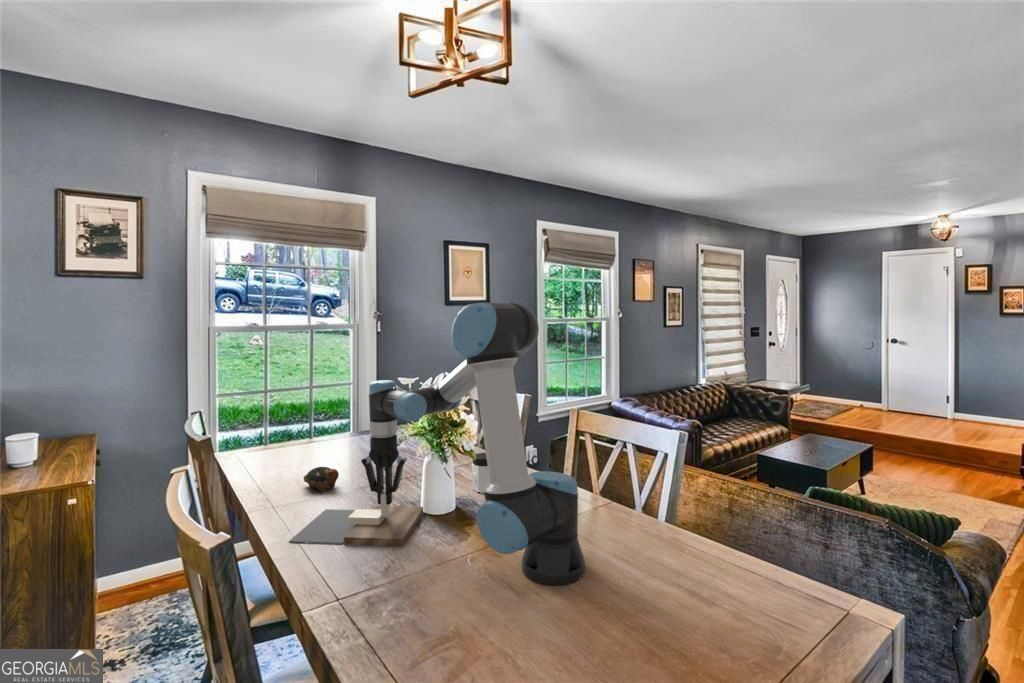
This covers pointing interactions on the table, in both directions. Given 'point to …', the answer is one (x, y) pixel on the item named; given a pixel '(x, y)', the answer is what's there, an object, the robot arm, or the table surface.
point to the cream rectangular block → (365, 517)
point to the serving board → (387, 528)
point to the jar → (480, 472)
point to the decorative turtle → (321, 478)
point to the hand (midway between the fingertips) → (385, 514)
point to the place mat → (326, 528)
